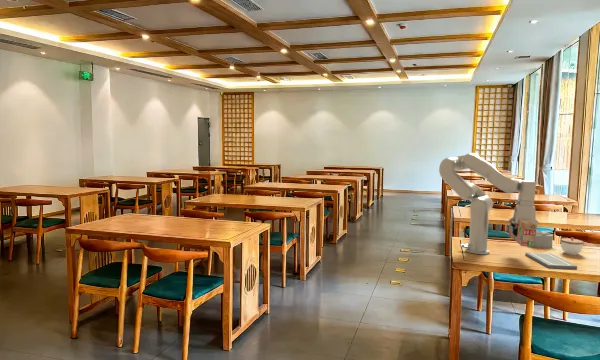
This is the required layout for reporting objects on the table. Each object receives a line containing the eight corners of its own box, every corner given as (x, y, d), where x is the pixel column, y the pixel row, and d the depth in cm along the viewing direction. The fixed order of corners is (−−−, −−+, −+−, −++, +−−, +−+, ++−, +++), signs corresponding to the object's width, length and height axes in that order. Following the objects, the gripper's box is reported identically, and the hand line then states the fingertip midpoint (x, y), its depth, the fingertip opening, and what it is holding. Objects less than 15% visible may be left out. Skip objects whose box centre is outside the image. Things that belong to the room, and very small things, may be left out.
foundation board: (548, 268, 209) (548, 265, 209) (525, 255, 233) (525, 252, 233) (577, 269, 209) (577, 266, 208) (550, 255, 232) (551, 253, 232)
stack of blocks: (508, 236, 236) (510, 214, 234) (520, 237, 235) (522, 215, 233) (521, 246, 215) (524, 222, 213) (534, 247, 214) (537, 223, 212)
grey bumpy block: (554, 247, 252) (555, 233, 251) (533, 247, 251) (534, 233, 251) (543, 243, 263) (544, 229, 262) (523, 243, 262) (524, 229, 261)
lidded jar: (559, 250, 246) (561, 234, 245) (581, 252, 240) (582, 237, 240) (560, 254, 237) (561, 238, 236) (582, 257, 231) (584, 240, 230)
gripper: (512, 203, 219) (508, 236, 221) (546, 205, 218) (541, 238, 220) (506, 201, 226) (502, 233, 228) (538, 203, 225) (534, 235, 227)
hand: (521, 235), depth 224 cm, fingers closed on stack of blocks, 6 cm apart
